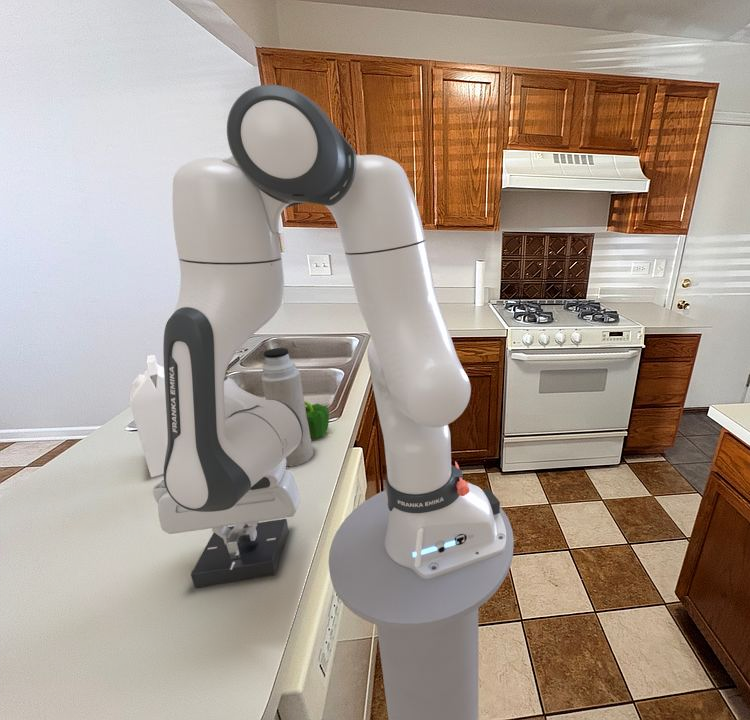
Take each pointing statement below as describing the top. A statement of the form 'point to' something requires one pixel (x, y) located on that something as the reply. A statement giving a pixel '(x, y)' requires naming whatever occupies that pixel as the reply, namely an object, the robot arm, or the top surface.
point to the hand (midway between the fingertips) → (241, 540)
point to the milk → (151, 414)
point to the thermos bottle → (287, 396)
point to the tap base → (253, 563)
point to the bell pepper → (317, 420)
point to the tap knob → (237, 541)
